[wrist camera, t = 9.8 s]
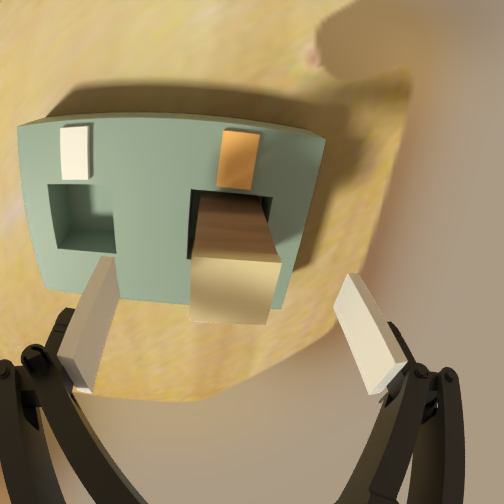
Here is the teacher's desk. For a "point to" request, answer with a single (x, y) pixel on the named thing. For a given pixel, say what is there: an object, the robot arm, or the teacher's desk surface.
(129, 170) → the socket board
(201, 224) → the plug
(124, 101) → the teacher's desk surface
